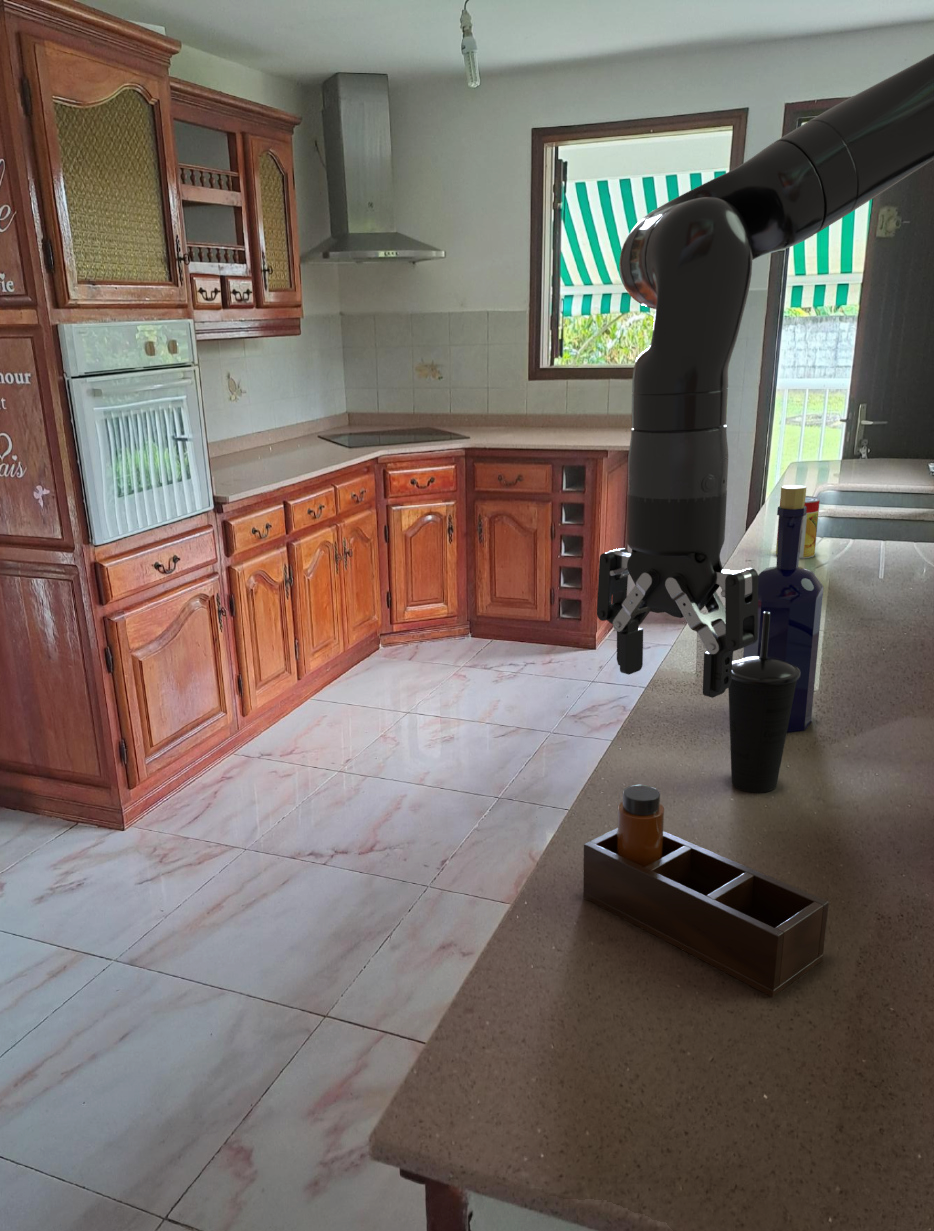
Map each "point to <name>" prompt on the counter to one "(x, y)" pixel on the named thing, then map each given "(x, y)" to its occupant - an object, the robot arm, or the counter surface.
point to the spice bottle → (640, 825)
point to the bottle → (791, 607)
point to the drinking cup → (759, 716)
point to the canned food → (808, 528)
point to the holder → (712, 909)
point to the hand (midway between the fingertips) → (670, 682)
